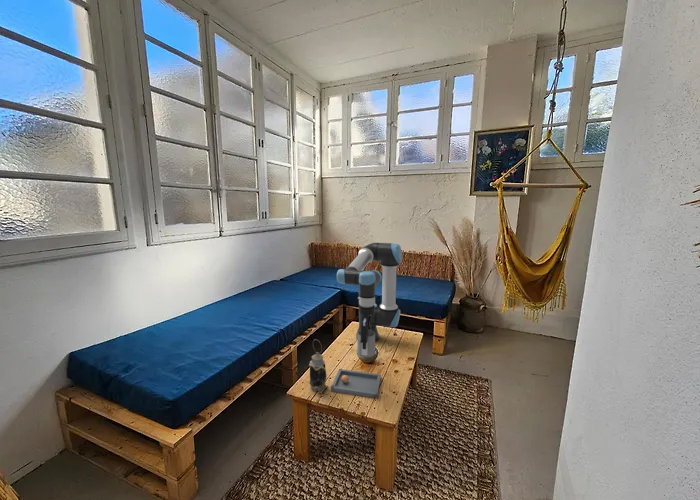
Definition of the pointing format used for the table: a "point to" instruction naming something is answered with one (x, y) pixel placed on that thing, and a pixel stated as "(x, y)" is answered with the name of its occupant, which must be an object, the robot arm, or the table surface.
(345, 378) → the ball
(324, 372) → the lantern
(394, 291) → the robot arm
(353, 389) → the tray
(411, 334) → the table surface
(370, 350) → the cup
